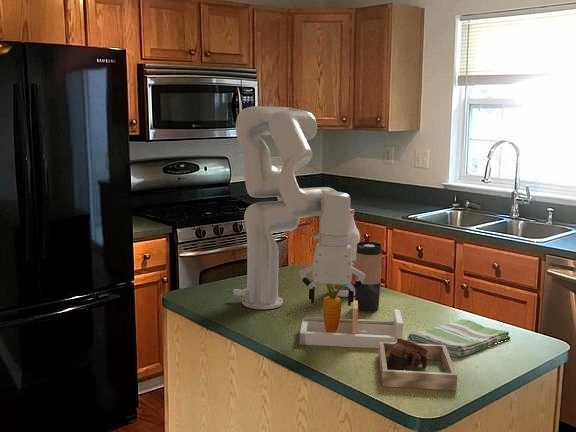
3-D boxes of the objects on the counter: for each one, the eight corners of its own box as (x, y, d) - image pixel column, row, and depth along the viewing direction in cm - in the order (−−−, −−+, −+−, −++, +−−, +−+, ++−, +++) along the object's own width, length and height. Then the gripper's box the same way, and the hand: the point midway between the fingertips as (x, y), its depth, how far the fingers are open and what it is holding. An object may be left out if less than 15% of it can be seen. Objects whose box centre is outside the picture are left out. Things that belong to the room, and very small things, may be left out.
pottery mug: (375, 366, 153) (388, 334, 155) (409, 381, 155) (421, 349, 157) (396, 374, 142) (410, 339, 143) (432, 390, 143) (445, 355, 145)
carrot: (342, 336, 171) (345, 282, 168) (336, 342, 167) (339, 287, 164) (324, 333, 173) (327, 279, 170) (318, 339, 168) (321, 284, 166)
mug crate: (382, 386, 141) (383, 371, 141) (378, 355, 159) (379, 341, 158) (456, 390, 140) (457, 375, 139) (444, 358, 157) (445, 344, 157)
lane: (299, 344, 165) (300, 318, 164) (302, 329, 176) (303, 305, 175) (401, 349, 163) (403, 323, 162) (398, 334, 174) (399, 309, 172)
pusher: (352, 343, 166) (353, 308, 164) (351, 333, 173) (353, 300, 171) (368, 344, 165) (369, 309, 164) (367, 334, 172) (368, 300, 171)
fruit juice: (346, 287, 217) (349, 206, 212) (364, 295, 209) (367, 210, 204) (324, 291, 212) (326, 208, 207) (341, 299, 204) (344, 212, 200)
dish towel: (405, 340, 170) (405, 328, 170) (458, 323, 185) (459, 312, 184) (458, 361, 157) (459, 347, 157) (511, 341, 171) (513, 328, 171)
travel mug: (378, 305, 199) (381, 242, 195) (379, 313, 191) (382, 247, 188) (354, 304, 199) (356, 241, 196) (354, 311, 192) (356, 246, 189)
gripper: (299, 241, 162) (297, 306, 166) (368, 245, 161) (364, 310, 164) (301, 235, 170) (299, 296, 173) (367, 238, 168) (363, 300, 172)
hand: (330, 303), depth 169 cm, fingers open, 9 cm apart
